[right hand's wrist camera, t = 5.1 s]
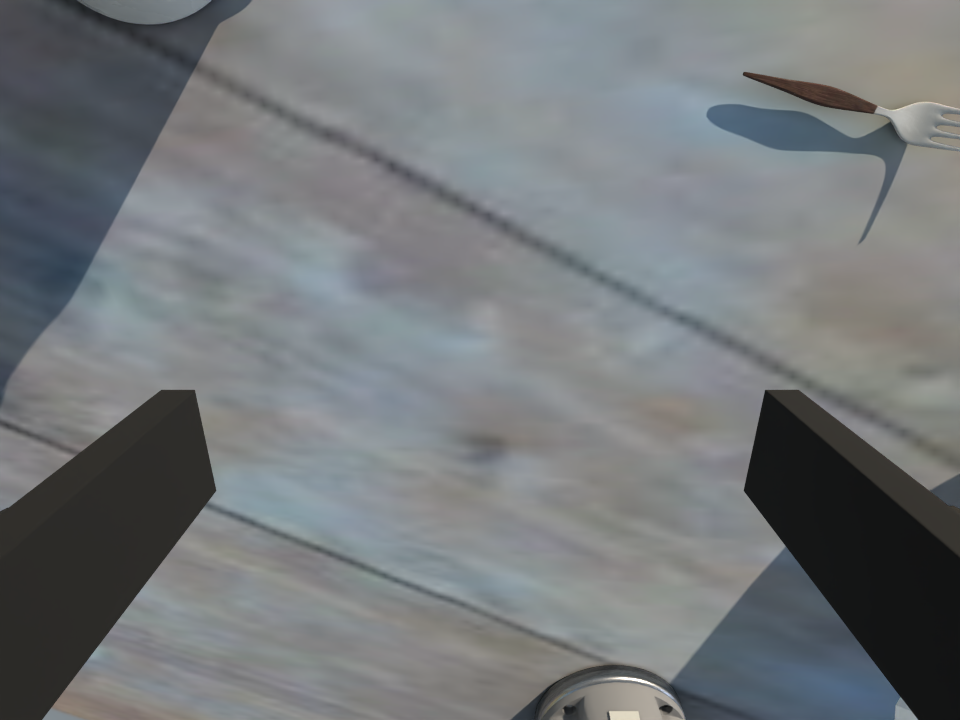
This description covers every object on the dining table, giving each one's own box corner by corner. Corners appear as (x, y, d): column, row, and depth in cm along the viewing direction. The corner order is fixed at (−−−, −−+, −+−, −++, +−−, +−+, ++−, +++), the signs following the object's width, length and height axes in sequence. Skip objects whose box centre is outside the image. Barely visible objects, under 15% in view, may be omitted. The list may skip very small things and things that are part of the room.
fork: (748, 51, 34) (763, 46, 32) (974, 115, 36) (1001, 113, 34) (731, 96, 35) (745, 93, 33) (953, 156, 37) (978, 157, 35)
